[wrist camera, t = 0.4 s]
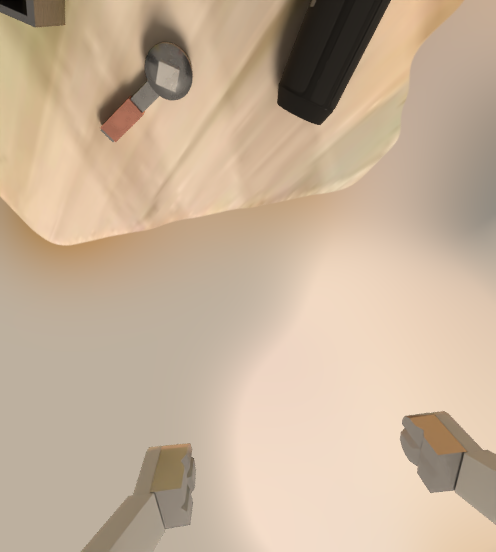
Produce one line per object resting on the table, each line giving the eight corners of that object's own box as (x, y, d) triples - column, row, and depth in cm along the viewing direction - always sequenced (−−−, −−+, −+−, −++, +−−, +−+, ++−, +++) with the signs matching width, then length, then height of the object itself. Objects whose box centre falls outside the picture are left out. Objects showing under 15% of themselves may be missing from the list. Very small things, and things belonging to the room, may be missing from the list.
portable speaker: (354, -144, 32) (400, -189, 25) (413, -90, 35) (469, -116, 28) (267, 95, 48) (279, 110, 40) (314, 117, 51) (333, 133, 44)
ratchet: (90, 115, 46) (79, 125, 41) (169, 29, 40) (166, 31, 36) (125, 149, 50) (119, 161, 46) (201, 76, 44) (202, 83, 40)
